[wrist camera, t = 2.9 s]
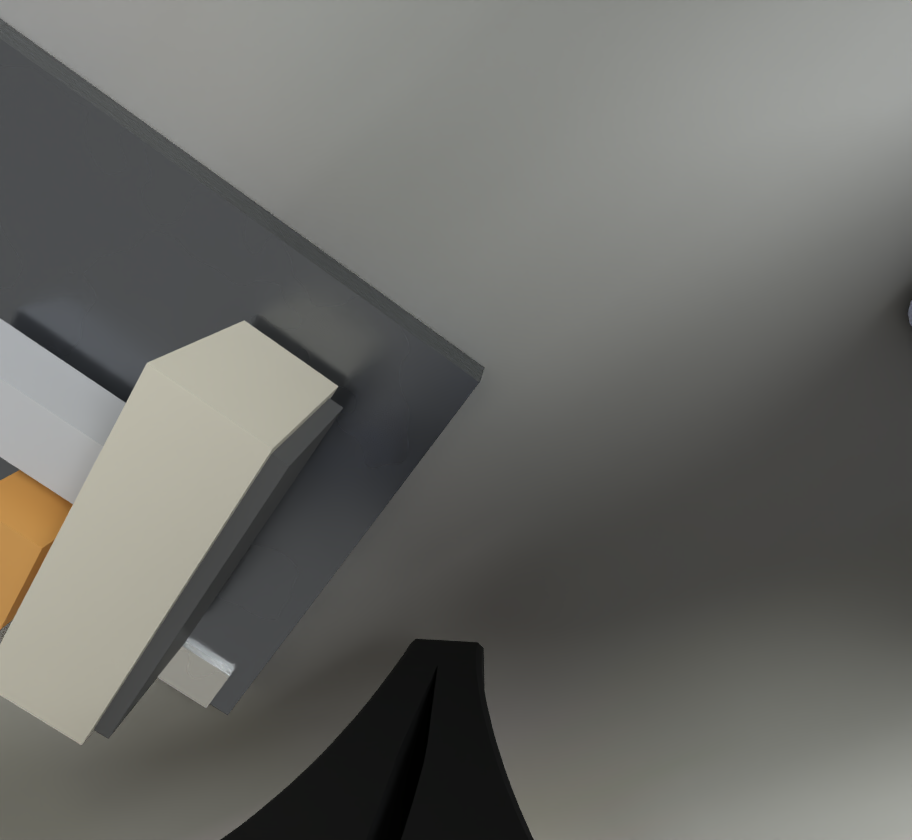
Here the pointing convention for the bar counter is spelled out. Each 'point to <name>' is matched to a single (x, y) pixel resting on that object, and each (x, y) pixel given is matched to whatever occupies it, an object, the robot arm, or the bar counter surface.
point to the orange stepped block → (25, 536)
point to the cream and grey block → (144, 507)
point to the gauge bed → (209, 332)
